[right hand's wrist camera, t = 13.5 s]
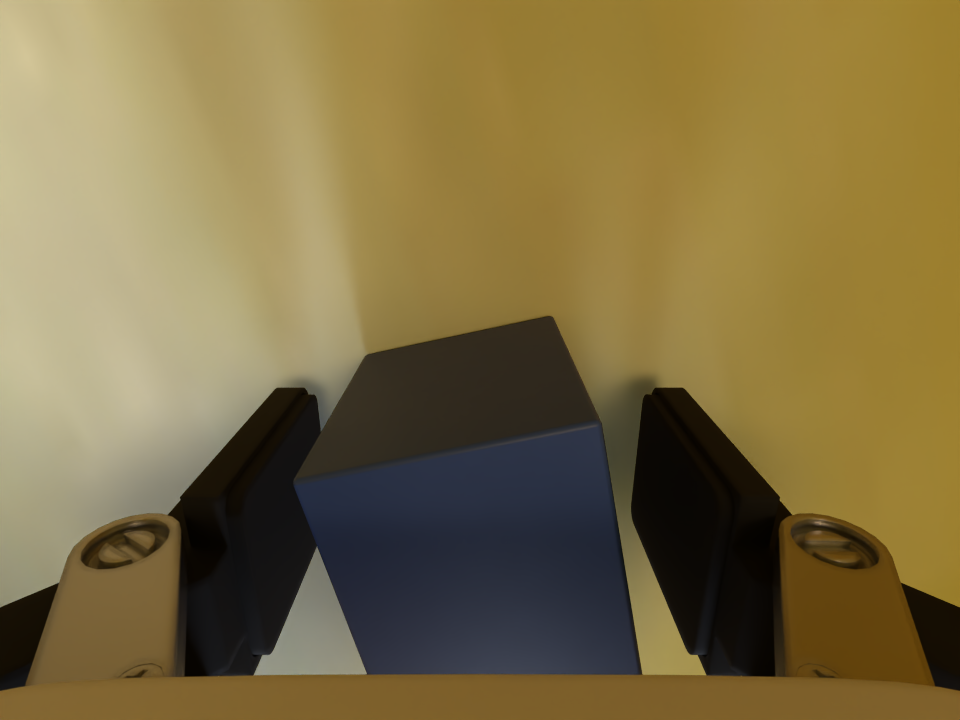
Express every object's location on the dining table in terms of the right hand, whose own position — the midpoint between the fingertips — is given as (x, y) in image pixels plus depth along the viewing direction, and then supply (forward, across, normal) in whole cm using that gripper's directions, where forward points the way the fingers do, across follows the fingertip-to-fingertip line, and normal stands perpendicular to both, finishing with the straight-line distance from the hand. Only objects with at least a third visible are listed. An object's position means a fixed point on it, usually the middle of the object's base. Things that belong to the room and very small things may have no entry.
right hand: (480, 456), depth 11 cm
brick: (+1, 0, 0) cm, 1 cm away
